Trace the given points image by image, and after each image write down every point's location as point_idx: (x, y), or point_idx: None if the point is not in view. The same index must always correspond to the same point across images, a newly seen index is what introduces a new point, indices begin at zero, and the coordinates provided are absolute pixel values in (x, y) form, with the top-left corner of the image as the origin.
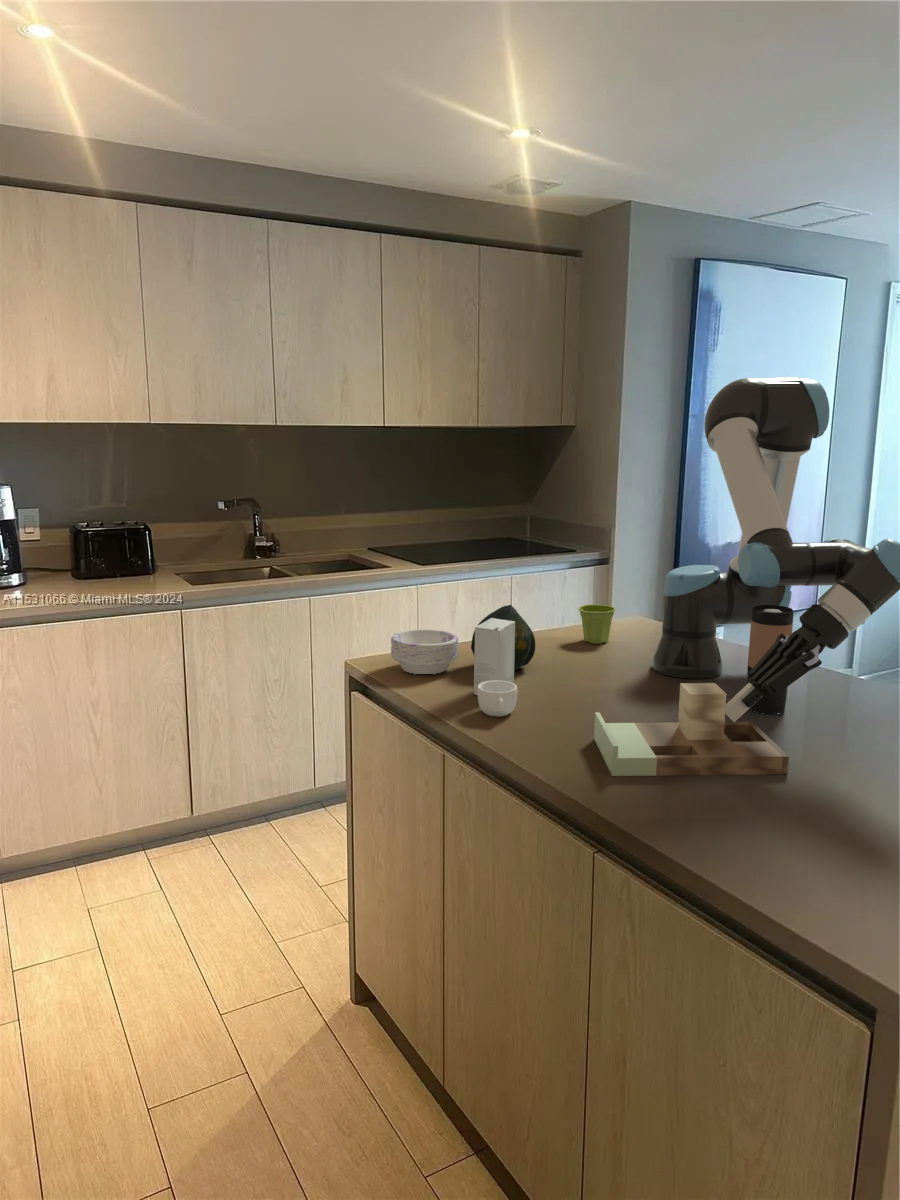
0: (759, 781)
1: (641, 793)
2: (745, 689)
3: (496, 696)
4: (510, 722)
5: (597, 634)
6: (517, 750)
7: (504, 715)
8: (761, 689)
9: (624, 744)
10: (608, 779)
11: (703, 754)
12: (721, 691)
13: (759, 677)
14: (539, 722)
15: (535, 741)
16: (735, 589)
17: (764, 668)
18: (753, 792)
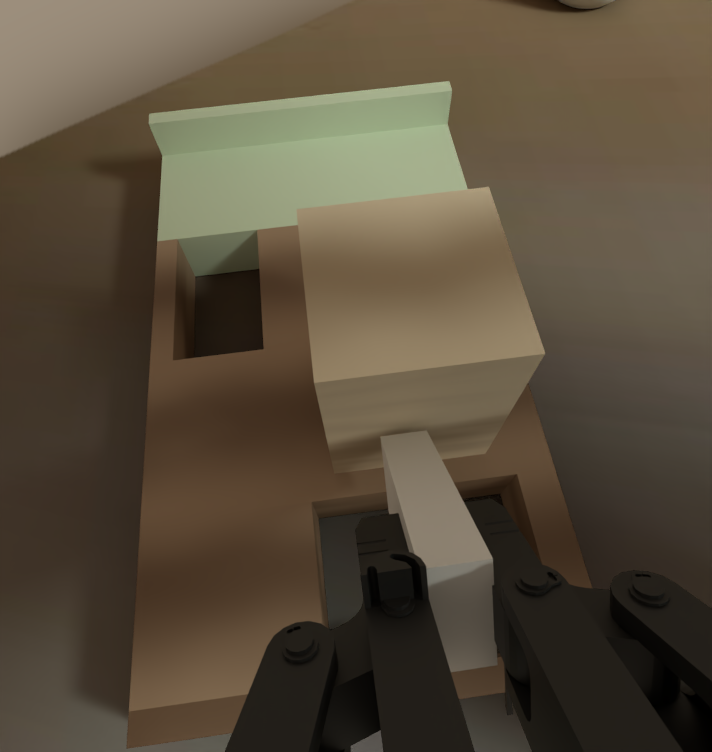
0: (104, 586)
1: (66, 239)
2: (431, 528)
3: None
4: (520, 15)
5: None
6: (336, 35)
7: (563, 2)
8: (333, 632)
9: (268, 173)
10: (160, 180)
11: (175, 374)
12: (362, 362)
13: (527, 656)
14: (539, 59)
15: (399, 58)
16: None
17: (595, 726)
18: (16, 540)
